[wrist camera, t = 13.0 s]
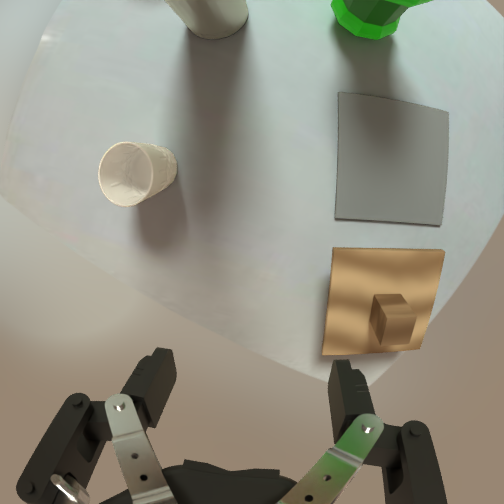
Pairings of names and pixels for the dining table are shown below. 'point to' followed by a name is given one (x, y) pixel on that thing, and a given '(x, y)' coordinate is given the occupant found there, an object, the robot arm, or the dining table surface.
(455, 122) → the dining table surface
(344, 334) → the oak lid
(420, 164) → the grey mat
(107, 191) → the white cup
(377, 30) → the plastic bottle
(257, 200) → the dining table surface
